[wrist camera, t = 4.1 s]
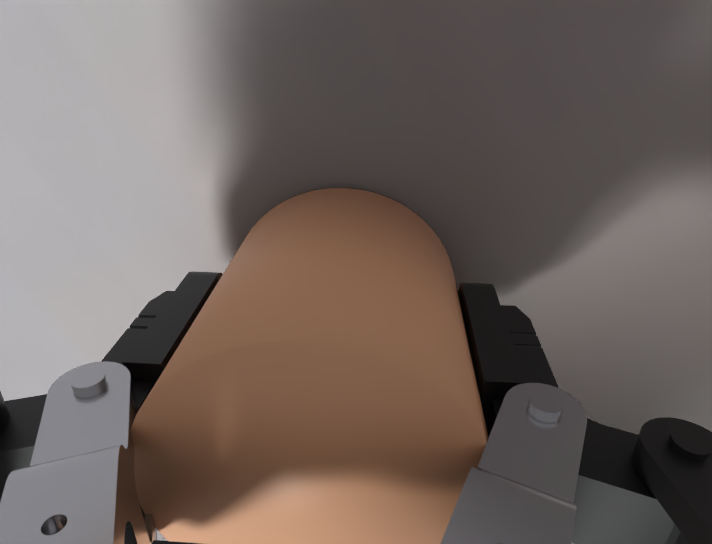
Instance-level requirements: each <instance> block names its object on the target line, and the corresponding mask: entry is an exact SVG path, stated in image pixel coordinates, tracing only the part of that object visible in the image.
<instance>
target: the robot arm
mask: <svg viewBox="0 0 712 544" xmlns="http://www.w3.org/2000/svg"><path fill="white" fill-rule="evenodd" d="M222 275H223V274H222V273H213V272H189V273H188V274H187V275H186V277H185V278H184V279H183V281H182V282H181V283H180V285H179V286H178V287H177V289H176V290H175V291H166V292H164V293H163V294H161V295H159V296H158V297H156V298H155V299H153V300H151V301H150V302H149V303H148V304H147V305H146V306H145V308H144V309H143V310H142V311H141V313H140V314H139V317H138V318H136V319H135V320H134V321H133V323H132V324H131V325H130V329H127V330H126V331H125V333H124V334H123V335H122V336H121V337H120V339H119V340H118V341H117V342H116V344H115V345H114V346H113V347H112V349H111V350H110V351H109V352H108V354H107V355H106V356H105V357H104V359H103V360H102V361H101V362H94V363H89V364H85V365H82V366H79V367H77V368H74V369H72V370H70V371H68V372H66V373H65V374H63V375H62V376H61V377H59V378H58V379H57V380H56V381H55V382H54V383H53V384H52V385H51V387H50V388H49V391H48V393H47V394H46V395H40V396H34V397H28V398H22V399H16V400H10V401H4V399H3V397H2V394H1V392H0V544H201V543H187V542H172V541H158V540H157V529H156V527H155V523H154V519H153V515H152V514H145V513H144V511H143V510H142V508H141V506H140V504H139V500H138V496H137V491H136V485H135V475H134V453H135V446H134V443H133V439H132V435H131V431H130V429H131V427H132V424H133V422H134V419H135V417H136V414H137V413H138V411H139V409H140V408H141V406H142V404H143V403H144V401H145V400H146V398H147V396H148V395H149V393H150V392H151V390H152V388H153V387H154V385H155V383H156V382H157V380H158V379H159V377H160V375H161V374H162V372H163V370H164V369H165V367H166V366H167V364H168V362H169V361H170V359H171V358H172V356H173V354H174V353H175V351H176V349H177V348H178V346H179V345H180V343H181V341H182V340H183V338H184V336H185V335H186V333H187V332H188V330H189V328H190V327H191V325H192V324H193V322H194V320H195V319H196V317H197V315H198V314H199V312H200V311H201V309H202V307H203V306H204V304H205V302H206V301H207V299H208V298H209V296H210V294H211V293H212V291H213V290H214V288H215V286H216V285H217V283H218V281H219V280H220V278H221V277H222ZM458 295H459V300H460V305H461V310H462V314H463V319H464V324H465V329H466V333H467V338H468V343H469V347H470V352H471V357H472V362H473V366H474V371H475V376H476V381H477V385H478V390H479V395H480V399H481V404H482V409H483V414H484V418H485V423H486V428H487V433H488V437H489V439H488V441H487V445H486V446H485V449H484V452H483V454H482V457H481V459H480V462H479V464H478V467H477V466H474V465H473V466H472V468H471V469H470V472H469V474H468V476H467V478H466V481H465V483H464V486H463V488H462V491H461V493H460V496H459V498H458V501H457V503H456V506H455V508H454V511H453V513H452V516H451V518H450V521H449V523H448V526H447V528H446V531H445V533H444V536H443V538H442V541H441V543H440V544H571V543H574V544H712V432H711V431H709V430H707V429H705V428H703V427H701V426H699V425H697V424H694V423H692V422H688V421H685V420H681V419H676V418H655V419H652V420H649V421H648V422H646V423H645V424H644V425H643V426H642V428H641V431H640V434H639V435H637V434H633V433H630V432H626V431H622V430H619V429H615V428H612V427H608V426H605V425H602V424H599V423H597V422H594V421H592V420H590V419H588V418H587V414H586V411H585V409H584V408H583V406H582V405H581V404H580V402H579V401H578V400H577V399H576V398H574V397H573V396H572V395H570V394H569V393H567V392H565V391H564V390H561V389H559V388H558V385H557V383H556V380H555V378H554V376H553V373H552V371H551V368H550V366H549V364H548V361H547V359H546V356H545V354H544V352H543V349H542V348H541V344H540V342H539V340H538V337H537V336H536V332H535V330H534V328H533V325H532V323H531V320H530V319H529V318H528V317H527V316H526V315H525V314H524V313H523V312H522V311H520V310H519V309H518V308H517V307H516V306H502V305H500V303H499V300H498V297H497V294H496V291H495V288H494V286H493V284H476V283H460V285H459V290H458Z"/></svg>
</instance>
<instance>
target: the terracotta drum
mask: <svg viewBox="0 0 712 544" xmlns="http://www.w3.org/2000/svg"><path fill="white" fill-rule="evenodd" d="M130 431H131V435H132V439H133V443H134V446H135V453H134V475H135V485H136V491H137V496H138V500H139V504H140V506H141V508H142V510H143V511H144V513H145V514H152V515H153V519H154V523H155V527H156V529H157V530H158V531H159V532H160V533H161V534H162V535H163V536H164V537H165V538H166V539H167V540H168V541H172V542H187V543H201V544H440V543H441V541H442V538H443V536H444V533H445V531H446V528H447V526H448V523H449V521H450V518H451V516H452V513H453V511H454V508H455V506H456V503H457V501H458V498H459V496H460V493H461V491H462V488H463V486H464V483H465V481H466V478H467V476H468V474H469V472H470V469H471V468H472V466H473V465H474V466H477V467H478V464H479V462H480V459H481V457H482V454H483V452H484V449H485V446H486V445H487V441H488V439H489V437H488V433H487V428H486V423H485V418H484V414H483V409H482V404H481V399H480V395H479V390H478V385H477V381H476V376H475V371H474V366H473V362H472V357H471V352H470V347H469V343H468V338H467V333H466V329H465V324H464V319H463V314H462V310H461V305H460V300H459V295H458V291H457V286H456V281H455V277H454V272H453V268H452V265H451V261H450V258H449V256H448V254H447V252H446V249H445V247H444V245H443V244H442V242H441V241H440V239H439V237H438V236H437V235H436V233H435V232H434V231H433V230H432V229H431V227H430V226H429V225H428V224H427V223H426V222H425V221H424V220H423V219H421V218H420V217H419V216H418V215H417V214H416V213H414V212H413V211H411V210H410V209H408V208H407V207H405V206H404V205H402V204H400V203H398V202H396V201H394V200H392V199H390V198H388V197H385V196H382V195H379V194H377V193H373V192H369V191H364V190H360V189H350V188H327V189H320V190H314V191H310V192H306V193H303V194H300V195H297V196H294V197H292V198H290V199H288V200H286V201H283V202H282V203H280V204H279V205H277V206H275V207H274V208H272V209H271V210H270V211H268V212H267V213H266V214H265V215H264V216H263V217H261V218H260V219H259V221H258V222H257V223H256V224H255V225H254V226H253V227H252V228H251V230H250V232H249V233H248V235H247V236H246V238H245V239H244V241H243V243H242V244H241V246H240V247H239V249H238V251H237V252H236V254H235V256H234V257H233V259H232V260H231V262H230V264H229V265H228V267H227V268H226V270H225V272H224V273H223V275H222V277H221V278H220V280H219V281H218V283H217V285H216V286H215V288H214V290H213V291H212V293H211V294H210V296H209V298H208V299H207V301H206V302H205V304H204V306H203V307H202V309H201V311H200V312H199V314H198V315H197V317H196V319H195V320H194V322H193V324H192V325H191V327H190V328H189V330H188V332H187V333H186V335H185V336H184V338H183V340H182V341H181V343H180V345H179V346H178V348H177V349H176V351H175V353H174V354H173V356H172V358H171V359H170V361H169V362H168V364H167V366H166V367H165V369H164V370H163V372H162V374H161V375H160V377H159V379H158V380H157V382H156V383H155V385H154V387H153V388H152V390H151V392H150V393H149V395H148V396H147V398H146V400H145V401H144V403H143V404H142V406H141V408H140V409H139V411H138V413H137V414H136V417H135V419H134V422H133V424H132V427H131V429H130Z"/></svg>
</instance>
